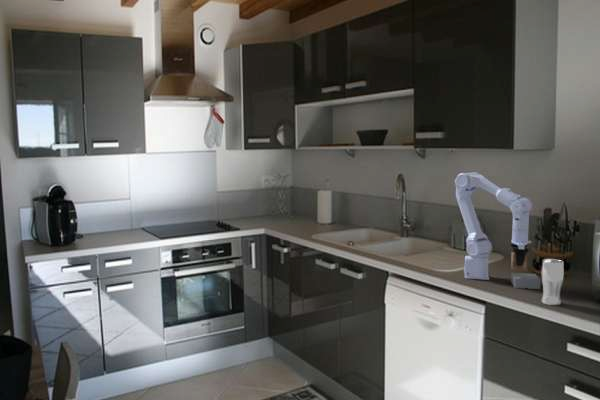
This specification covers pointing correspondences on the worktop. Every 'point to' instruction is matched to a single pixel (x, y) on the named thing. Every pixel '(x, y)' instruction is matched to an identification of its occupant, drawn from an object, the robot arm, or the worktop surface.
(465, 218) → the robot arm
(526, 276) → the slate block
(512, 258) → the walnut block
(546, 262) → the beer glass
